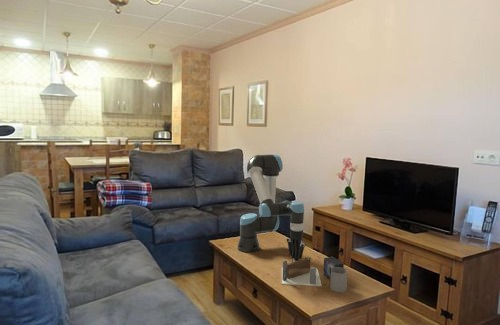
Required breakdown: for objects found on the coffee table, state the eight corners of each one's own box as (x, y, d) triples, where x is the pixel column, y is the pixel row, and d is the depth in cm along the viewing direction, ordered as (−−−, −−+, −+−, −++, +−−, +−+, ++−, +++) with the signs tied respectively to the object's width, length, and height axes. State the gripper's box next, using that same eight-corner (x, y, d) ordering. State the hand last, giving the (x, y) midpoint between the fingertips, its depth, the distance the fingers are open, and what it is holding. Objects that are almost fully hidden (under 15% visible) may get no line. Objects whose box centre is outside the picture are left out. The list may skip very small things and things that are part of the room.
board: (281, 268, 210) (281, 267, 210) (317, 269, 208) (317, 268, 208) (281, 284, 189) (281, 283, 189) (321, 286, 187) (321, 285, 187)
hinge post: (282, 279, 195) (282, 260, 193) (286, 279, 194) (287, 260, 193) (282, 281, 192) (282, 262, 191) (286, 281, 192) (287, 262, 191)
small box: (322, 275, 201) (323, 257, 199) (332, 273, 203) (332, 256, 202) (333, 283, 191) (334, 264, 190) (343, 281, 194) (344, 262, 192)
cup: (336, 293, 180) (337, 274, 178) (326, 286, 187) (327, 268, 186) (349, 290, 183) (350, 272, 182) (339, 283, 191) (340, 266, 189)
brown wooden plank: (286, 277, 195) (286, 262, 194) (307, 270, 204) (308, 256, 203) (288, 279, 193) (289, 263, 192) (310, 272, 202) (310, 257, 201)
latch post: (309, 283, 191) (310, 267, 190) (315, 283, 191) (315, 267, 190) (310, 285, 189) (310, 269, 187) (315, 285, 188) (316, 269, 187)
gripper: (283, 227, 202) (282, 267, 205) (300, 233, 192) (298, 274, 195) (292, 225, 207) (291, 263, 210) (309, 231, 197) (307, 271, 200)
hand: (294, 269), depth 203 cm, fingers closed
